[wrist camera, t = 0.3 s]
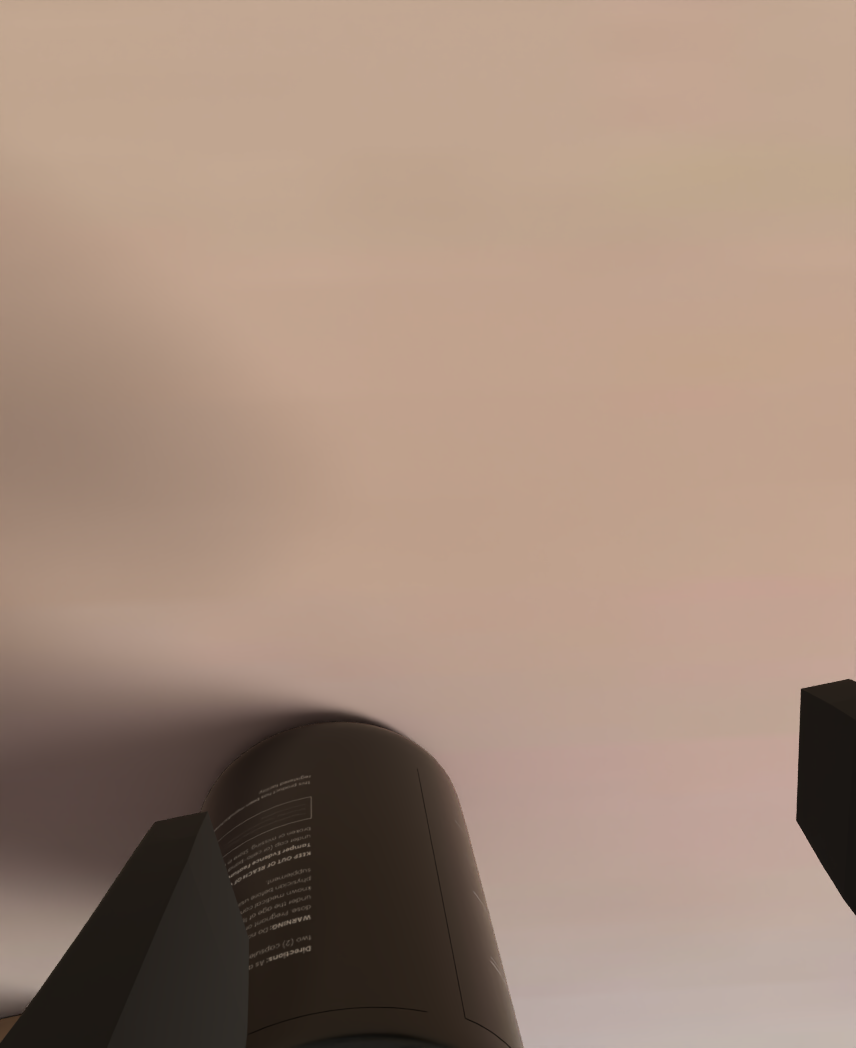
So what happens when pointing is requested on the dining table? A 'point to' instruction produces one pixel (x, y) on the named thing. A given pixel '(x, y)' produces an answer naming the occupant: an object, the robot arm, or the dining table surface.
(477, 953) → the supplement bottle
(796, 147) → the dining table surface
